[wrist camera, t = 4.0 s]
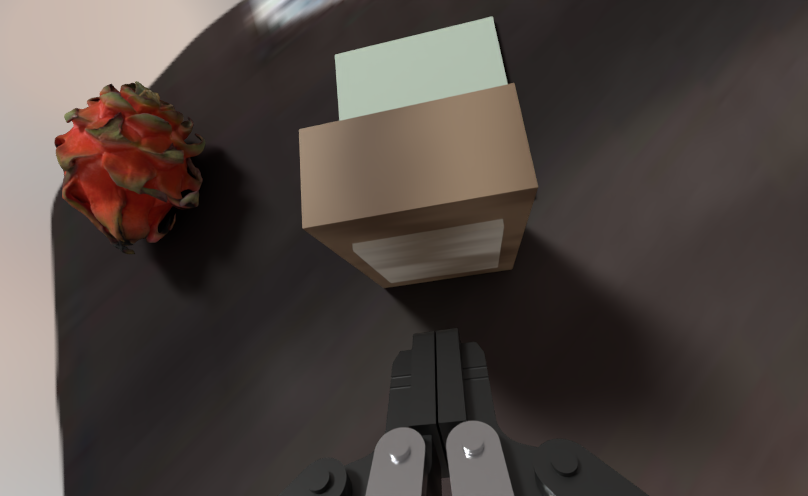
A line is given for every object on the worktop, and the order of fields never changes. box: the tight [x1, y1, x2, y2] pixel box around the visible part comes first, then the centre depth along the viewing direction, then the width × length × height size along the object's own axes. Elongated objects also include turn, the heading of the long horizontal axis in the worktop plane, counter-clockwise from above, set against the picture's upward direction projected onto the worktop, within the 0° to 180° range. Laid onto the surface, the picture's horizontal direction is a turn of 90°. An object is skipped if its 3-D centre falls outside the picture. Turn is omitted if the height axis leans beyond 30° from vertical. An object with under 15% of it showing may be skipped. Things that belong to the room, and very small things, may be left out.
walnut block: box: [299, 83, 538, 288], centre depth 19 cm, size 8×4×12 cm, turn 96°
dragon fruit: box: [55, 81, 205, 254], centre depth 27 cm, size 8×8×12 cm
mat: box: [335, 17, 508, 121], centre depth 28 cm, size 12×14×1 cm
